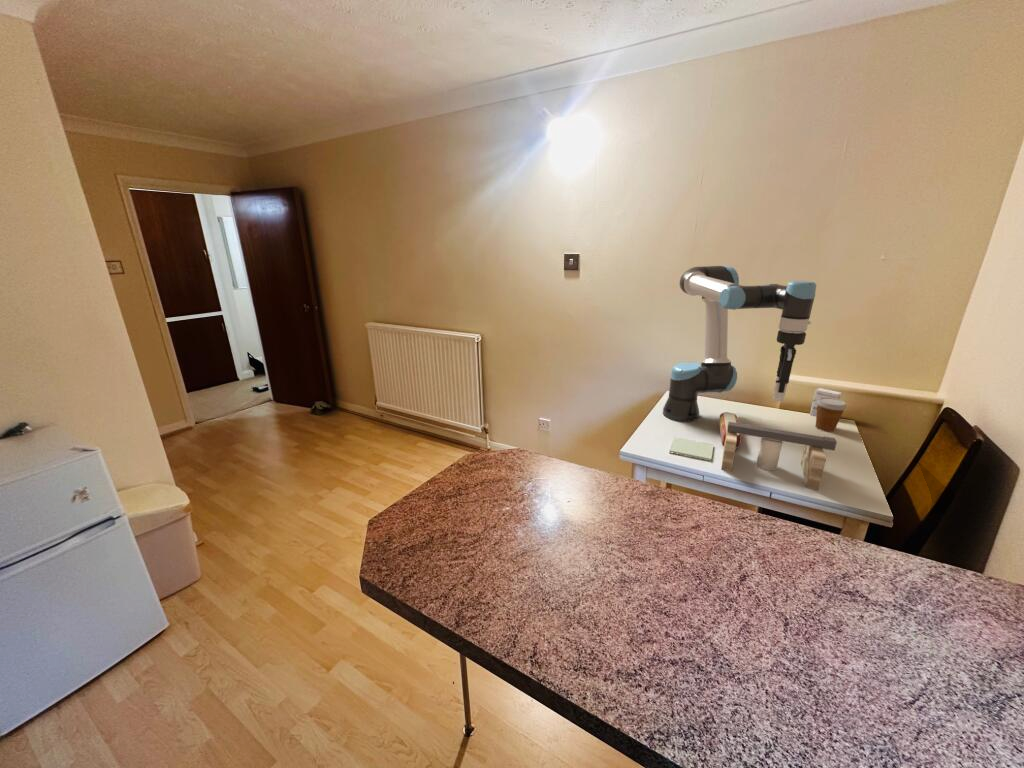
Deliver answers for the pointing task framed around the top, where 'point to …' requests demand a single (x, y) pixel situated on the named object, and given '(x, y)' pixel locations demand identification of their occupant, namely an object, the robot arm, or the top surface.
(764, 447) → the cream rounded wedge
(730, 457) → the rails
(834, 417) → the disposable coffee cup
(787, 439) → the grey long bar
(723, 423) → the snack package
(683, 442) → the pad
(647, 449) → the top surface
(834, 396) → the ink box
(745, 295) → the robot arm
